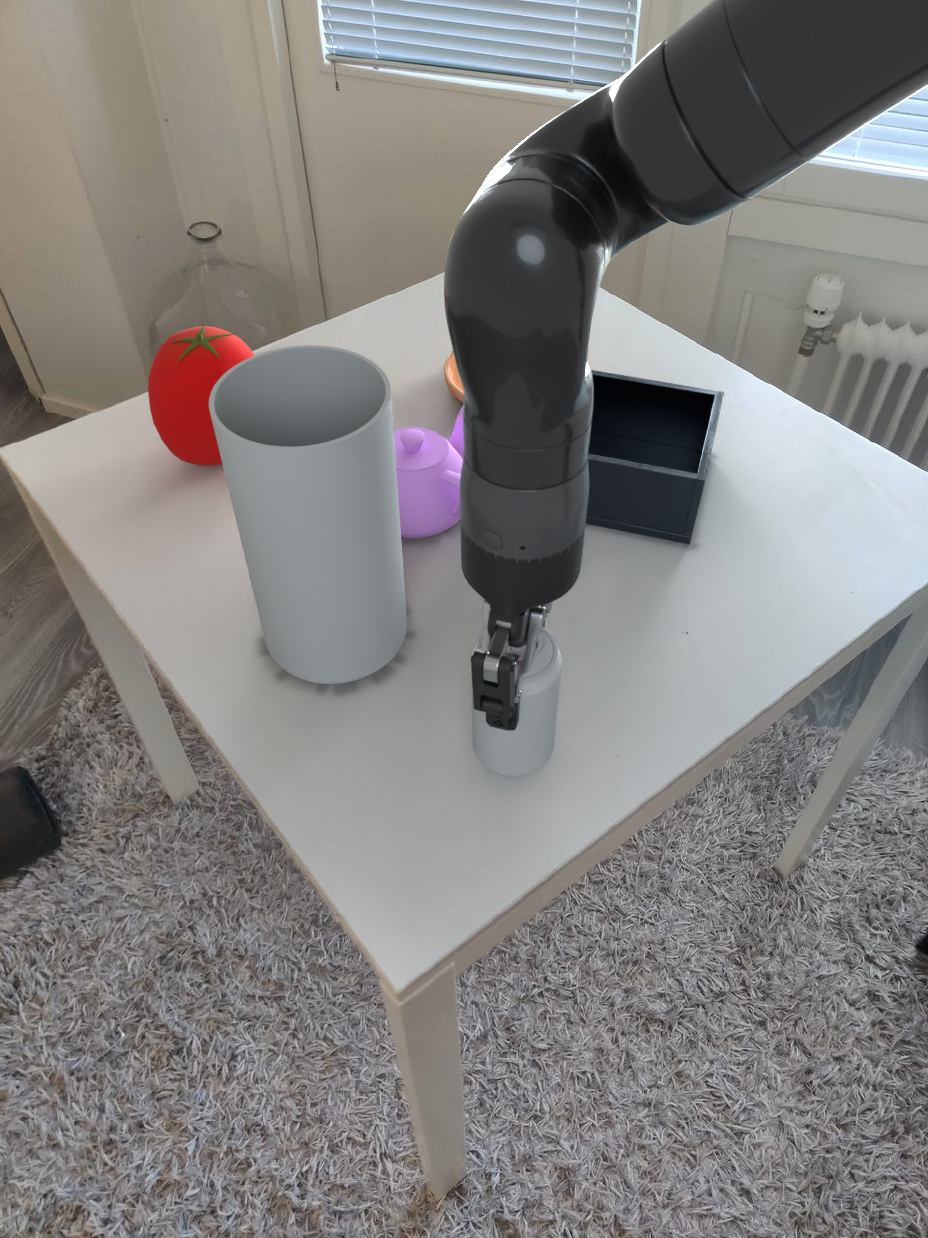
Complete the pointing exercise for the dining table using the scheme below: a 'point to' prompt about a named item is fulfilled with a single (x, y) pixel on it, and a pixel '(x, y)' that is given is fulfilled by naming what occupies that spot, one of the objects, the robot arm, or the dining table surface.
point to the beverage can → (524, 716)
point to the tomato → (191, 389)
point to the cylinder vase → (316, 506)
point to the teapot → (428, 479)
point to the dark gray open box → (649, 455)
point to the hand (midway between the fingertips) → (515, 686)
